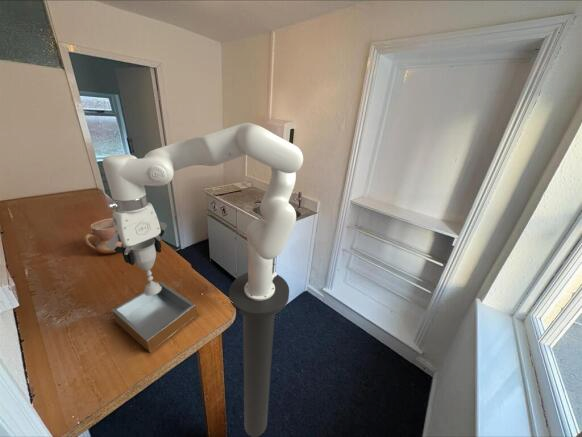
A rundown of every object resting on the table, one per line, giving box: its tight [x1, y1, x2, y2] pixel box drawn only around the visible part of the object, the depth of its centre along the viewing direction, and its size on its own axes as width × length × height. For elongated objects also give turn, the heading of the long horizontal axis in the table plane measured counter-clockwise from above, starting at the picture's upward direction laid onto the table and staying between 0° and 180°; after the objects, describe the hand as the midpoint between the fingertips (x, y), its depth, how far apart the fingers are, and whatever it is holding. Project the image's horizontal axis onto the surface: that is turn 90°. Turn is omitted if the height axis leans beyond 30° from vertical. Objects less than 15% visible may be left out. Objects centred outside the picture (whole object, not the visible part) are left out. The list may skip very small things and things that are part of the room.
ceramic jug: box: [84, 217, 122, 255], centre depth 112 cm, size 18×14×14 cm
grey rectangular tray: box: [111, 281, 198, 353], centre depth 80 cm, size 17×20×5 cm
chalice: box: [130, 238, 162, 296], centre depth 71 cm, size 7×7×18 cm
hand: (144, 256), depth 70 cm, fingers closed on chalice, 7 cm apart
